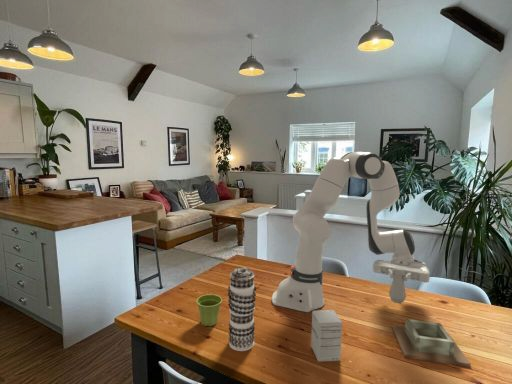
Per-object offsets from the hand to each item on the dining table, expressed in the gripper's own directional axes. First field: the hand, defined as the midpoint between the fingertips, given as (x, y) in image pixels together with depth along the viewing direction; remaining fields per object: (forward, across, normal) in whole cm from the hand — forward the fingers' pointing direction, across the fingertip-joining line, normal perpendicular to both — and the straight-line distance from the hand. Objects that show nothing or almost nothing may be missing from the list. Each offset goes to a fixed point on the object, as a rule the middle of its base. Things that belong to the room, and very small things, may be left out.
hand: (398, 277), depth 109 cm
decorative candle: (+43, -43, +17) cm, 63 cm away
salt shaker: (-1, 0, +10) cm, 10 cm away
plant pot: (+39, -60, +17) cm, 73 cm away
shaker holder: (+12, +10, +17) cm, 23 cm away
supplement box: (+34, -17, +17) cm, 42 cm away
